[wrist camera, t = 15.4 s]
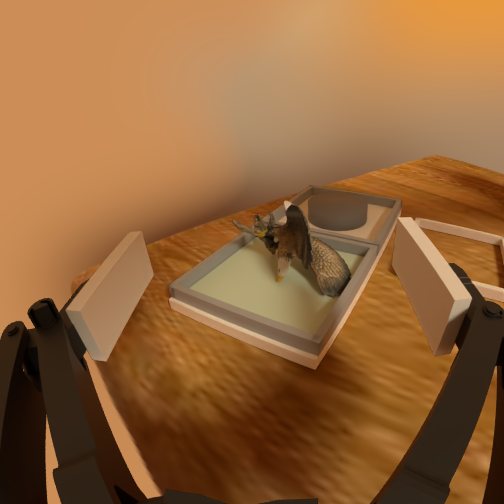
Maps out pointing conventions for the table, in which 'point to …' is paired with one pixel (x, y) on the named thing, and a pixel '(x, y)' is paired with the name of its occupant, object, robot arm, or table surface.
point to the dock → (289, 277)
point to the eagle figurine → (301, 249)
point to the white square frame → (484, 289)
